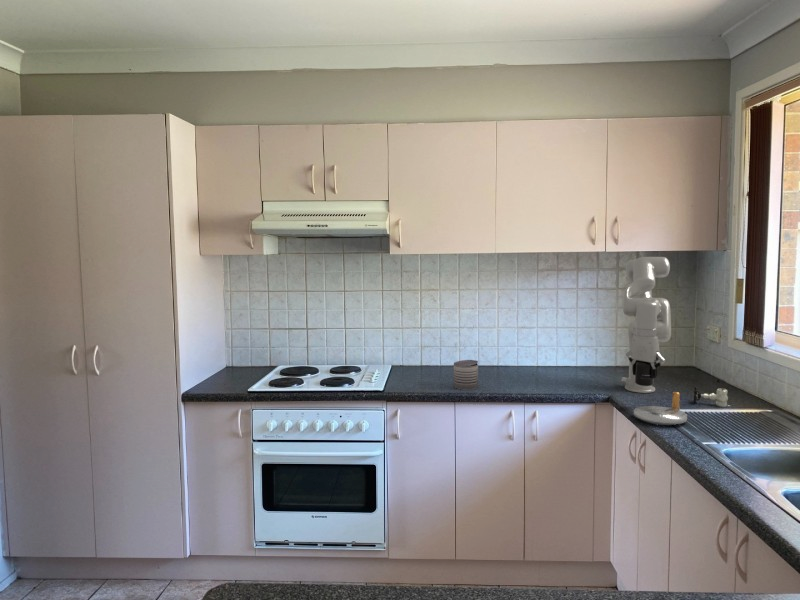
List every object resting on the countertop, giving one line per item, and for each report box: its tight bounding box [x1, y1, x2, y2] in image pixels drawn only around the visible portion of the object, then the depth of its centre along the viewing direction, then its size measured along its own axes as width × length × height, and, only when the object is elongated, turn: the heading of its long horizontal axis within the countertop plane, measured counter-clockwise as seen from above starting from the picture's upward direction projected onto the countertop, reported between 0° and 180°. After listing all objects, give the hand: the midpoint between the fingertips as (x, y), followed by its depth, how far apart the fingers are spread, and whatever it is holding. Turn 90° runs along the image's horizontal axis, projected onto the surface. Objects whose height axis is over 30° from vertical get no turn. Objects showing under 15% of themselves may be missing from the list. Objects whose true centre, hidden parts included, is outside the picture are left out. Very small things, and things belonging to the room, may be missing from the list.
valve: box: [693, 386, 729, 408], centre depth 228 cm, size 7×7×12 cm
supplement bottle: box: [635, 361, 655, 386], centre depth 224 cm, size 7×7×12 cm
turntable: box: [633, 391, 688, 425], centre depth 210 cm, size 22×18×7 cm
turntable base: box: [639, 419, 674, 427], centre depth 209 cm, size 14×14×1 cm
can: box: [453, 359, 479, 391], centre depth 261 cm, size 11×11×12 cm
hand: (644, 375), depth 224 cm, fingers closed on supplement bottle, 6 cm apart
